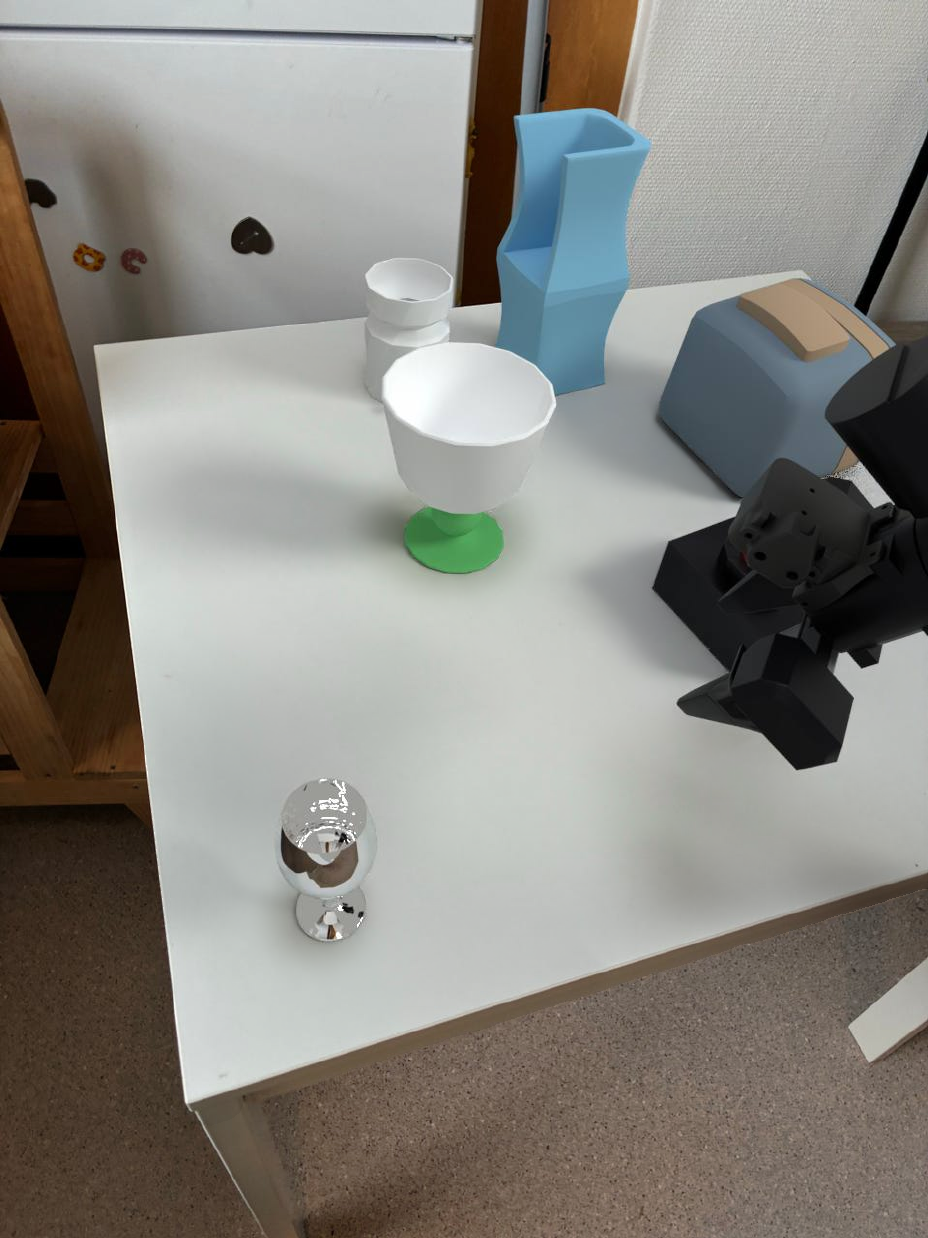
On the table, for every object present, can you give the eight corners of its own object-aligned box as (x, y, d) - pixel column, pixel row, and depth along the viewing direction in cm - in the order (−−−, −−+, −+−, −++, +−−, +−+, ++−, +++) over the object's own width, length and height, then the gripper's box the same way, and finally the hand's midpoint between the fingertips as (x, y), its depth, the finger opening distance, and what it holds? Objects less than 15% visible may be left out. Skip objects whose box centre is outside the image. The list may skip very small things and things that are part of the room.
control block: (829, 644, 77) (866, 583, 71) (741, 685, 73) (772, 625, 67) (737, 554, 83) (763, 491, 78) (651, 587, 79) (673, 525, 74)
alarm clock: (864, 472, 93) (937, 334, 81) (739, 511, 87) (797, 369, 75) (764, 385, 102) (817, 250, 90) (646, 415, 97) (685, 274, 85)
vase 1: (386, 416, 93) (388, 310, 84) (351, 371, 97) (349, 266, 88) (460, 397, 96) (470, 292, 87) (422, 354, 101) (428, 251, 92)
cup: (365, 496, 84) (365, 346, 72) (505, 481, 87) (527, 335, 76) (395, 603, 76) (400, 453, 64) (548, 582, 79) (581, 435, 67)
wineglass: (302, 967, 55) (289, 880, 46) (273, 885, 59) (257, 790, 50) (389, 930, 57) (393, 841, 48) (357, 853, 61) (355, 756, 52)
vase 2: (485, 353, 102) (512, 115, 83) (559, 337, 105) (601, 105, 87) (528, 402, 96) (567, 158, 78) (605, 383, 100) (660, 146, 81)
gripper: (880, 350, 48) (665, 478, 60) (812, 563, 37) (561, 670, 49) (995, 498, 51) (767, 594, 63) (964, 741, 39) (691, 802, 51)
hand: (702, 655), depth 56 cm, fingers open, 9 cm apart
